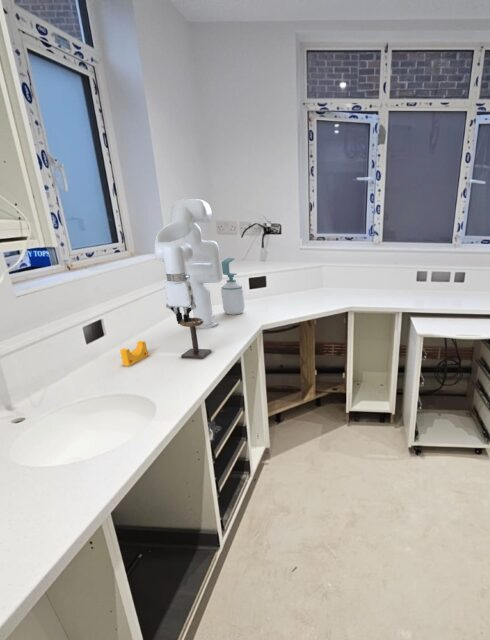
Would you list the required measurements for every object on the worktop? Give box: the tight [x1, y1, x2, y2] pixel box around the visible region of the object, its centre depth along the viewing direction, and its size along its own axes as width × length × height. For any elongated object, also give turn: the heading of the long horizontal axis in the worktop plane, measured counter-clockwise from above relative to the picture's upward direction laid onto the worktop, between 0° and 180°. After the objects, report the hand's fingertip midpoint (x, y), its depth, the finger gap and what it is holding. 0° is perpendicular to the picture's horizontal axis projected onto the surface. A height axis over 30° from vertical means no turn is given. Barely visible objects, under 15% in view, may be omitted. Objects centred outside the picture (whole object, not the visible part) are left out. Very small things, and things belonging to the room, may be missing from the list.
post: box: [180, 326, 212, 360], centre depth 167 cm, size 9×9×13 cm
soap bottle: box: [220, 257, 245, 316], centre depth 232 cm, size 12×12×31 cm
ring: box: [179, 317, 204, 328], centre depth 164 cm, size 9×9×2 cm
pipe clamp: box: [119, 340, 149, 367], centre depth 162 cm, size 12×4×6 cm, turn 168°
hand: (183, 322), depth 165 cm, fingers closed on ring, 2 cm apart
